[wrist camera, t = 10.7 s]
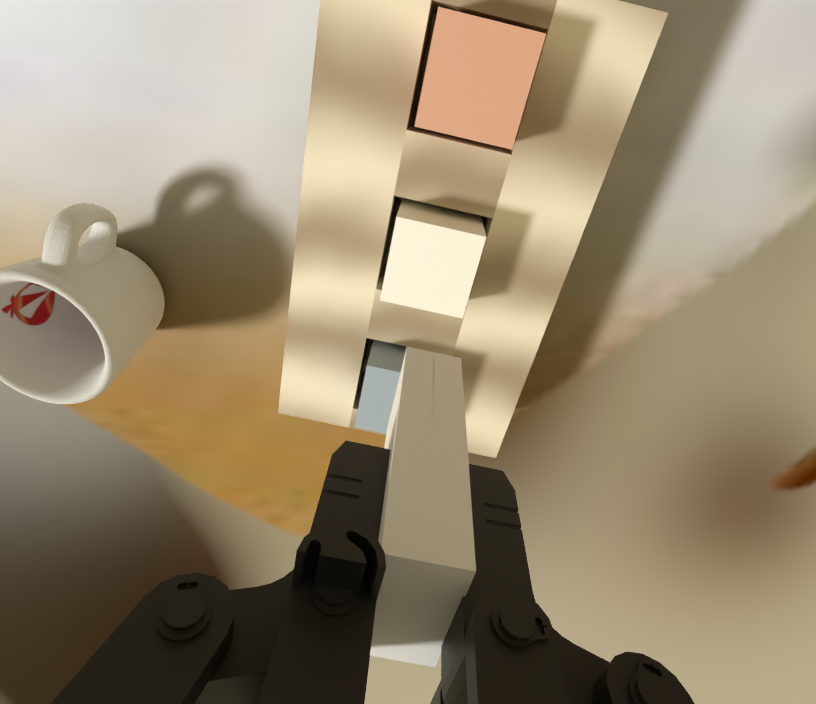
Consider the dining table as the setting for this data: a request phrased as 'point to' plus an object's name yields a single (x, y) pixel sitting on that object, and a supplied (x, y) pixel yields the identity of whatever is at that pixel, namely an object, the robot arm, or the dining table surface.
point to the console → (449, 195)
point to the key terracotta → (477, 78)
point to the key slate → (380, 386)
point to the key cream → (433, 258)
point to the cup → (75, 310)
